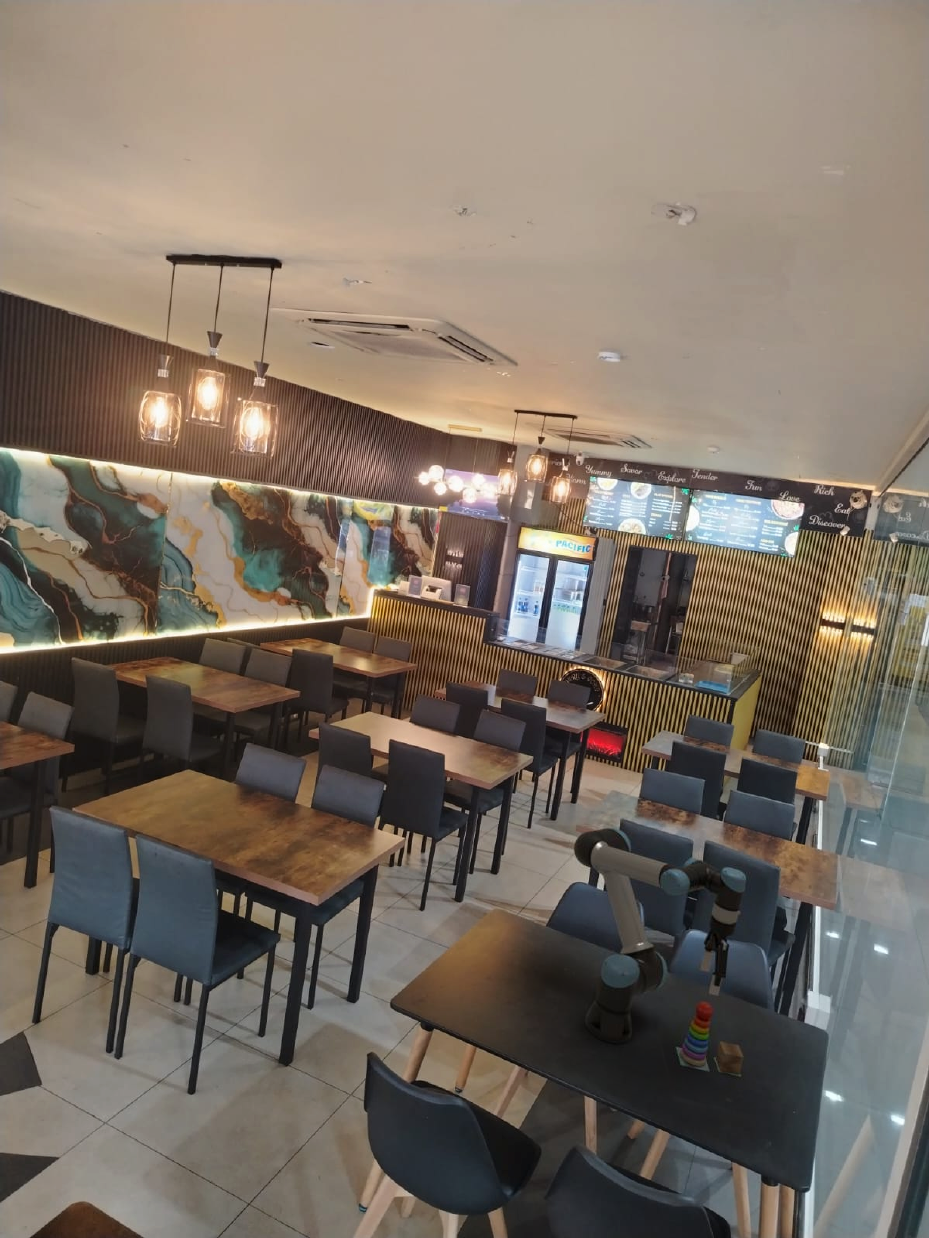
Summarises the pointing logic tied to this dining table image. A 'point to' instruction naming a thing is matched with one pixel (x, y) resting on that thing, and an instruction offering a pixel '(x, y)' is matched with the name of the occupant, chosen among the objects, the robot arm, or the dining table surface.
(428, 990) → the dining table surface
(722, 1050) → the walnut cube
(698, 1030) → the stacking toy
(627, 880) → the robot arm
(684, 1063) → the paired pale square pads
